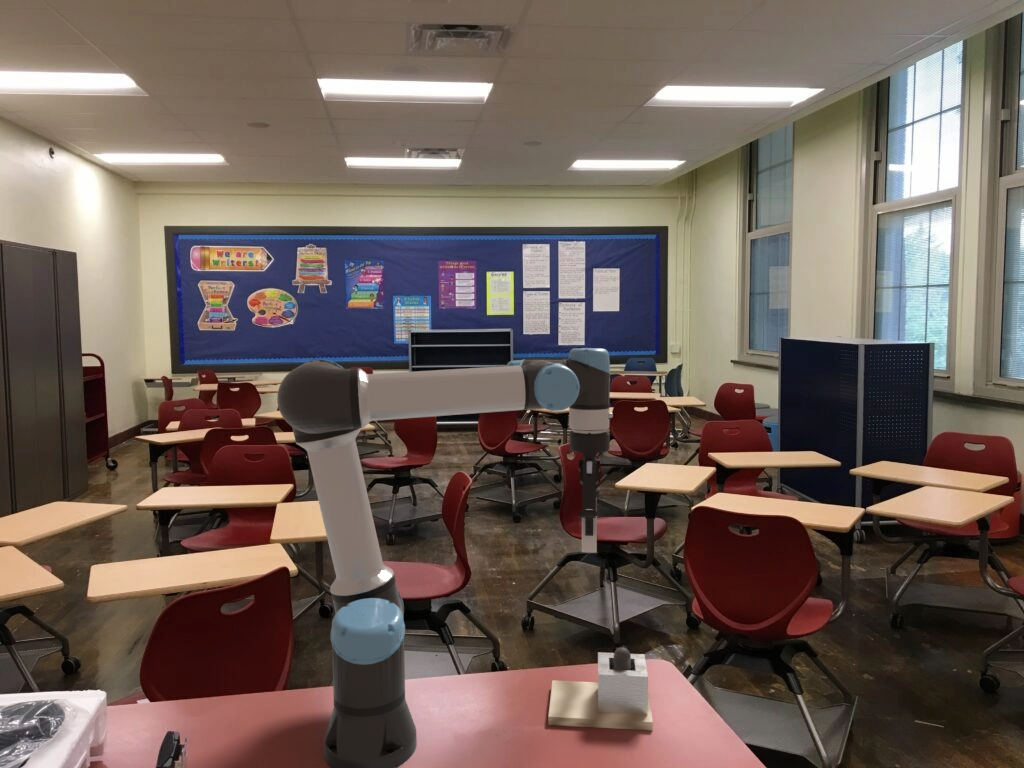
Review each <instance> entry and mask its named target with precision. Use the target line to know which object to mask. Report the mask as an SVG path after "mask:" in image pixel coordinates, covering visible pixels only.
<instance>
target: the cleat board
mask: <svg viewBox="0 0 1024 768" xmlns="http://www.w3.org/2000/svg"><path fill="white" fill-rule="evenodd" d="M613 653H614V670H630V671H631V655H630V654H631V653H630V650H628V649H627V648H626V647H622V646H621V647H620V646H619V647H617V648H616V649H615V651H614V652H613ZM550 689H551V691H550V700H549V707H548V708H549V709H548V717H547V718H548V719H547V720H548V723H547V724H548V726H562V727H580V728H599V729H614V730H615V729H617V730H620V729H621V730H635V731H637V730H639V731H653V729H654V727H653V726H654V722H653V715H652V714H653V713H652V708H651V701H650V696H649V695H650V694H649V692H648V715H635V714H616V713H598V681H597V682H595V681H573V680H556V679H554V680H553V679H552V681H551V688H550Z"/></svg>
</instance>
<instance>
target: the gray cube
mask: <svg viewBox="0 0 1024 768" xmlns="http://www.w3.org/2000/svg"><path fill="white" fill-rule="evenodd" d="M630 655H631V671H630V670H614V652H602V651H601V652H597V682H598V713H616V714H635V715H648V693H649V675H648V674H649V673H648V670H647V669H648V668H647V663H646V656H645V654H643V653H630Z"/></svg>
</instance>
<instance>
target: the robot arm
mask: <svg viewBox="0 0 1024 768" xmlns="http://www.w3.org/2000/svg"><path fill="white" fill-rule="evenodd" d="M611 373H612V372H611V362H610V354H609V351H608V350H607V349H606V348H599V347H597V348H596V347H594V348H593V347H581V348H572V349H570V351H569V354H568V358H564V359H563V358H562V359H525V358H524V359H523V358H522V359H519V360H518V359H517V360H510V361H508V362H507V365H506V366H487V367H486V366H485V367H470V368H453V369H452V368H451V369H437V370H419V371H400V372H399V371H398V372H386V373H385V372H384V373H366V371H364V370H363V369H362V368H358V367H357V368H345V367H343V366H342V365H340V364H338V363H337V362H335V361H332V360H329V359H319V360H318V359H317V360H316V359H315V360H314V359H313V360H310V361H306V362H304V363H302V364H301V365H298V367H296V368H293V369H292V370H291V371H290V372H288V373H287V374H286V375H285V377H284V378H283V379H282V381H281V382H280V384H279V387H278V391H277V396H276V397H277V399H276V401H277V407H278V410H279V412H280V415H281V416H282V418H283V419H284V420H285V422H286V423H287V424H288V425H289V426H291V427H292V428H291V429H292V432H293V436H294V440H295V444H296V445H298V446H300V447H301V448H303V449H304V450H305V451H306V453H307V457H308V461H309V465H310V469H311V470H310V471H311V474H312V478H313V482H314V487H315V491H316V496H317V500H318V505H319V508H320V512H321V516H322V521H323V524H324V525H323V526H324V529H325V533H326V534H325V535H326V538H327V543H328V546H329V551H330V552H329V553H330V556H331V560H332V564H333V568H334V573H335V576H336V577H335V579H334V581H333V582H332V583H331V585H330V589H329V590H330V594H331V598H332V602H333V607H334V611H335V614H334V615H333V617H332V621H331V622H332V623H331V629H330V643H331V647H332V649H331V651H332V654H331V655H332V676H333V677H332V678H333V679H332V683H333V685H332V687H333V688H332V689H333V707H332V712H331V715H330V718H329V721H328V725H327V728H326V732H325V735H324V738H323V756H324V760H325V762H326V763H327V764H328V766H329V767H331V768H397V767H399V766H401V765H402V764H404V763H405V762H407V761H408V760H409V759H410V758H411V757H412V756H413V754H414V752H415V751H416V749H417V743H418V740H417V738H418V737H417V736H418V735H417V729H416V725H415V722H414V718H413V716H412V714H411V711H410V708H409V705H408V704H407V703H408V702H407V700H406V678H405V676H406V673H405V670H406V669H405V636H406V635H405V634H406V624H405V621H404V613H405V606H404V601H403V598H402V596H401V594H400V591H399V590H398V586H397V582H396V581H397V580H396V576H395V572H394V570H393V569H392V568H391V567H389V566H387V565H385V564H384V561H383V556H382V553H381V548H380V543H379V539H378V535H377V531H376V526H375V523H374V522H375V521H374V517H373V513H372V508H371V504H370V499H369V495H368V490H367V486H366V481H365V477H364V472H363V468H362V463H361V460H360V454H359V451H358V446H357V442H356V440H357V436H358V435H359V433H360V431H361V430H362V429H363V428H364V429H365V427H367V425H368V424H369V423H371V422H374V421H377V422H378V421H386V420H387V421H388V420H389V421H390V420H402V419H414V418H415V419H417V418H429V417H430V418H431V417H443V416H453V415H454V416H456V415H470V414H483V413H497V412H498V413H499V412H510V411H511V412H512V411H526V410H527V411H528V410H529V411H533V410H547V411H551V412H554V411H559V412H561V411H563V410H567V409H568V411H569V412H568V414H569V415H568V416H569V417H568V418H569V419H568V421H569V423H568V424H569V425H568V427H569V429H571V431H570V432H569V450H570V451H571V452H573V453H577V454H582V455H583V459H580V458H579V459H578V471H579V482H580V483H579V484H581V485H582V511H581V512H577V513H578V515H577V517H578V518H579V519H580V518H581V553H591V554H592V553H593V554H594V553H595V554H597V552H598V550H597V547H598V545H597V544H598V543H597V541H598V540H597V539H598V538H597V536H598V535H597V534H598V533H597V531H598V530H597V529H598V527H597V526H598V523H597V521H598V519H597V518H598V512H597V498H600V491H597V485H599V484H600V483H599V480H600V479H599V478H600V477H599V476H600V475H599V474H600V472H601V460H600V459H597V456H596V455H597V454H604V453H607V452H609V451H610V446H611V445H610V442H611V441H610V439H611V437H610V436H611V435H610V432H609V431H607V430H609V428H610V419H612V418H613V417H614V415H613V412H610V391H611V389H610V388H611Z"/></svg>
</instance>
